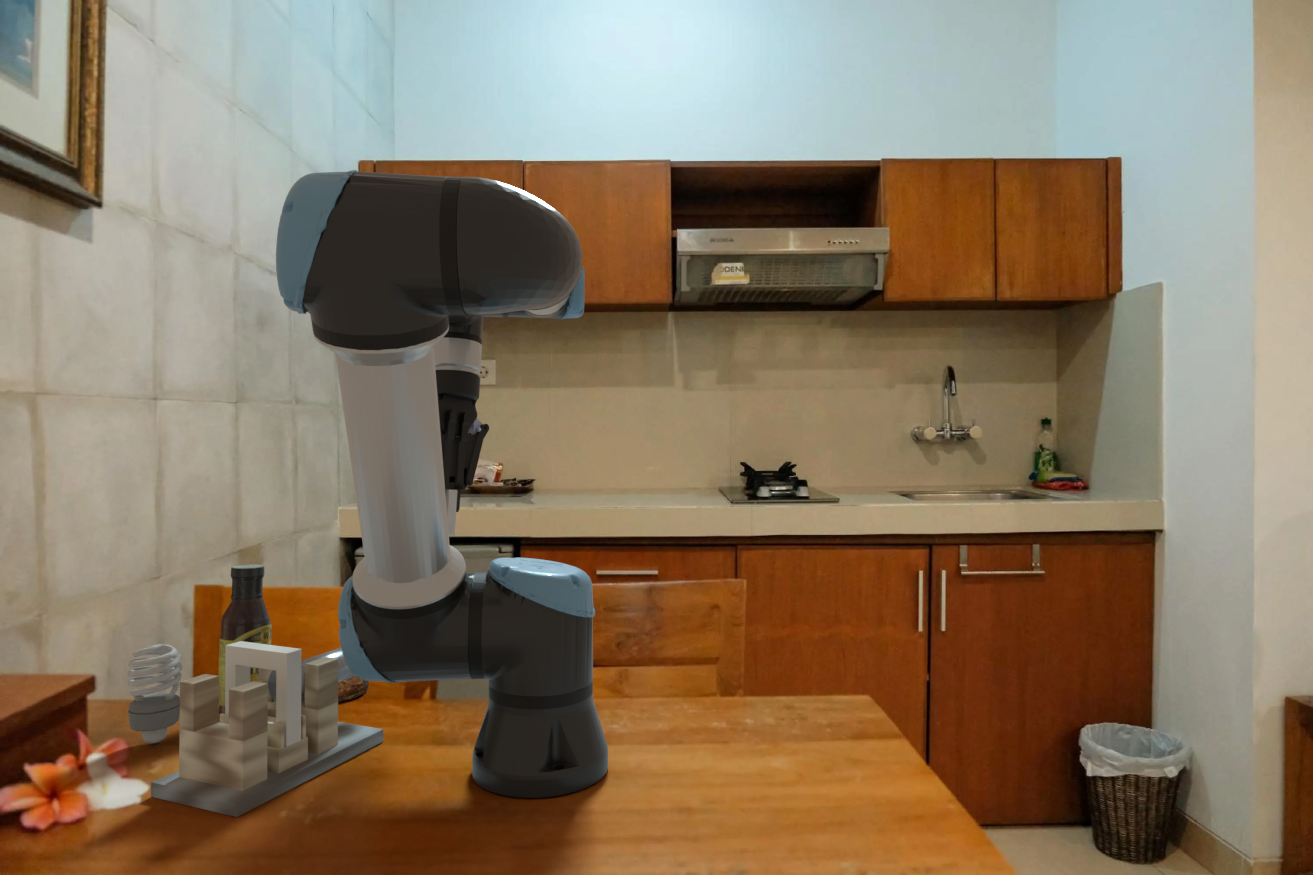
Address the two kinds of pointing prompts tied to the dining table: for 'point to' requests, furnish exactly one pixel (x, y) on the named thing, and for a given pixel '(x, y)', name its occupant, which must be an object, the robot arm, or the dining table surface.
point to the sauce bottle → (243, 619)
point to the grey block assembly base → (257, 742)
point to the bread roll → (351, 688)
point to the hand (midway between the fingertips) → (444, 535)
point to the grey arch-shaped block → (287, 680)
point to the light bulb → (158, 708)
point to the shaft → (343, 668)
